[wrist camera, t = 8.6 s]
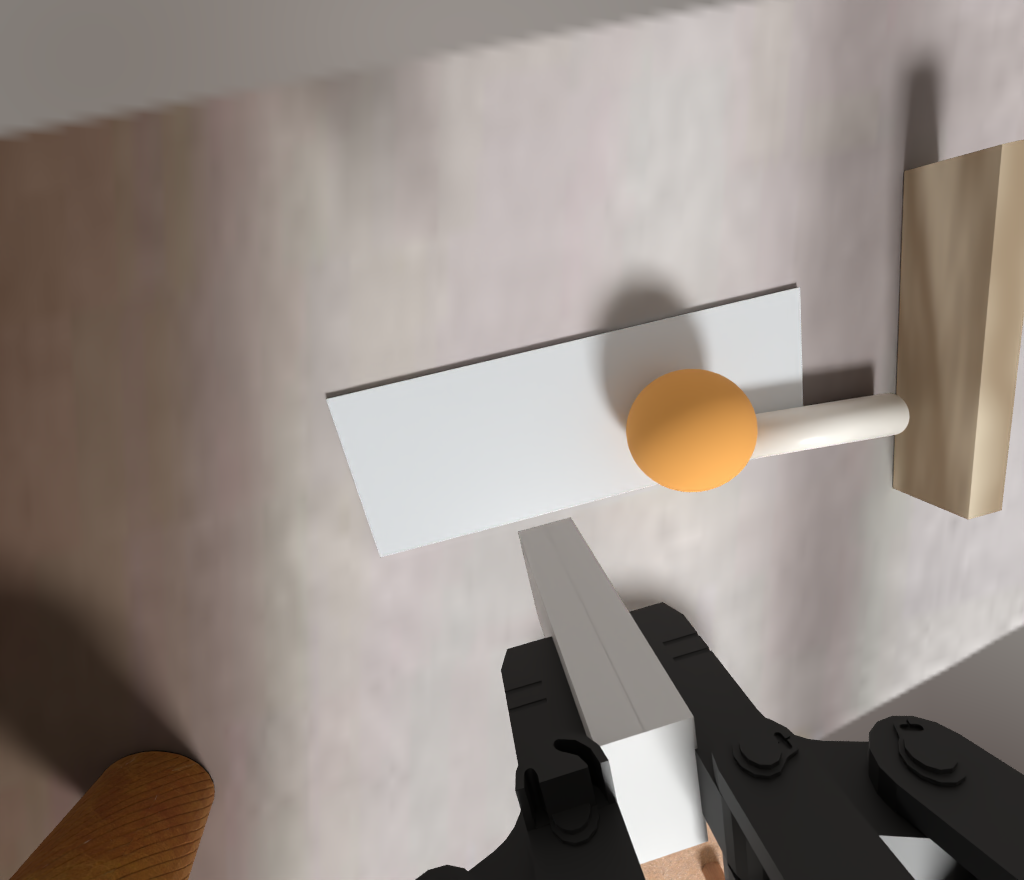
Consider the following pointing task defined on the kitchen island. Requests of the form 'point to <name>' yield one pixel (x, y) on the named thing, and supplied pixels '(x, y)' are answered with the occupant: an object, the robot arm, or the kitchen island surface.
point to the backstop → (960, 327)
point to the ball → (691, 430)
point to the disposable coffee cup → (130, 824)
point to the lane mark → (545, 420)
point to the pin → (830, 424)
